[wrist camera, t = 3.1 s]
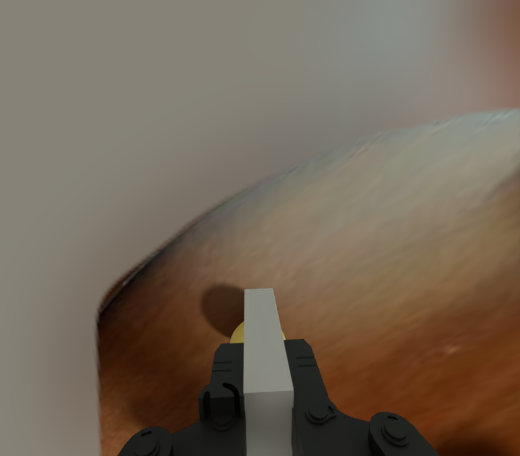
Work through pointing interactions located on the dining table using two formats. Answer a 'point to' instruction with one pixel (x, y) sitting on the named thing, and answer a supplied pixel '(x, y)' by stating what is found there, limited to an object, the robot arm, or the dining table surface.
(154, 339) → the dining table surface
